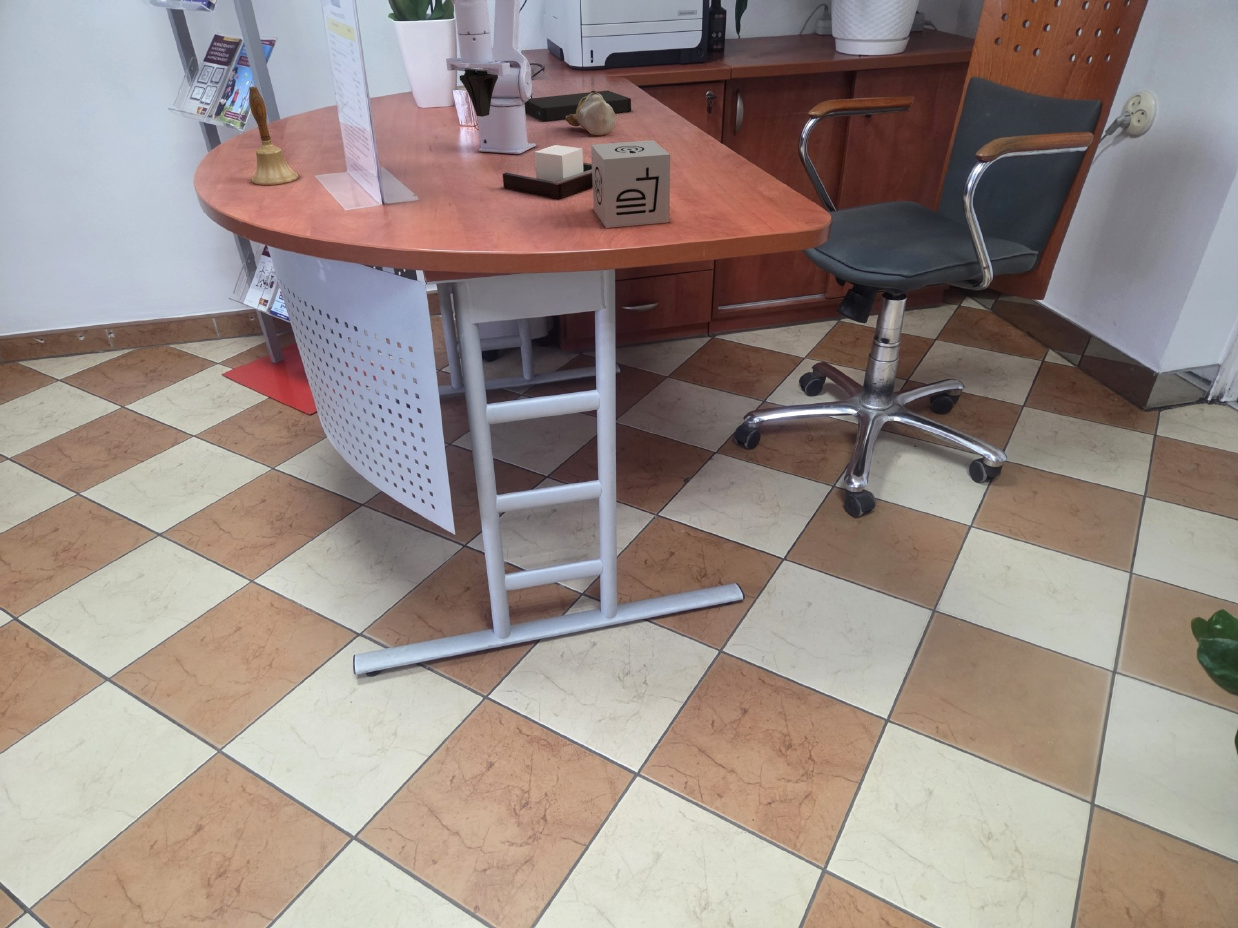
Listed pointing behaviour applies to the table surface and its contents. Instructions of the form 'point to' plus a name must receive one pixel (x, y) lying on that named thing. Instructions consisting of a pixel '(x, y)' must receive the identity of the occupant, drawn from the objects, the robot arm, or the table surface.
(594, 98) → the ceramic sculpture
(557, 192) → the frame
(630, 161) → the icon cube
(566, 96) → the external hard drive
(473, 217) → the table surface
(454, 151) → the table surface
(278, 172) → the hand bell
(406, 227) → the table surface
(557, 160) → the white cube
